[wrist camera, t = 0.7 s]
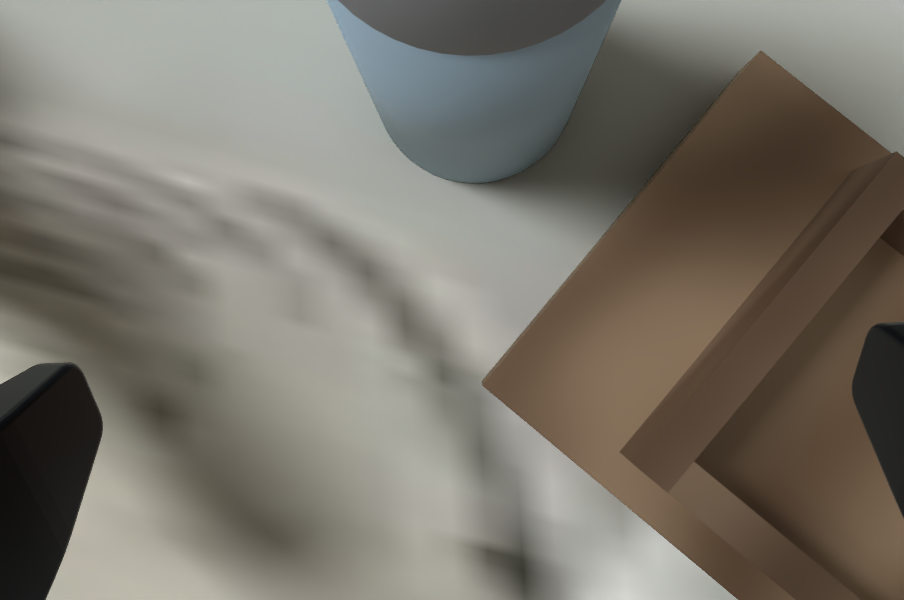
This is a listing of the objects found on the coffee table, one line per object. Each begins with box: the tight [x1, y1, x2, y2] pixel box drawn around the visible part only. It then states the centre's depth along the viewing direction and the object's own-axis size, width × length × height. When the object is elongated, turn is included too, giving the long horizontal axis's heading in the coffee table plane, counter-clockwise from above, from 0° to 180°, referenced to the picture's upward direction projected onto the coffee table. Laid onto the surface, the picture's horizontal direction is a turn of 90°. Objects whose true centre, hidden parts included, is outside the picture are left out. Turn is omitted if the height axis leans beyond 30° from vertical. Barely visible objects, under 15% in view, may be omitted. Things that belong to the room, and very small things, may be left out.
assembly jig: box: [482, 51, 904, 600], centre depth 19 cm, size 18×12×4 cm, turn 50°
